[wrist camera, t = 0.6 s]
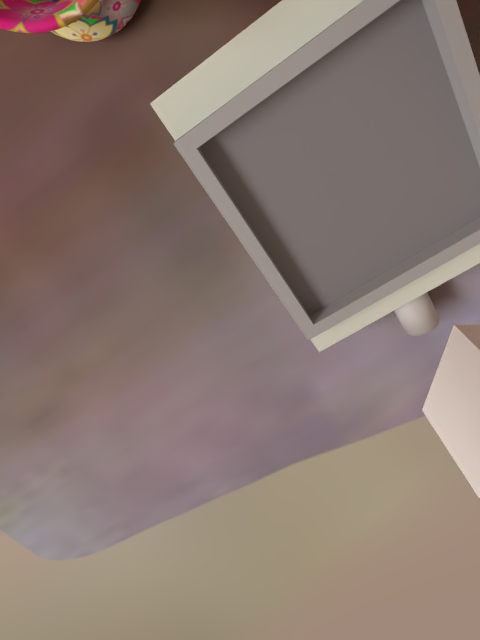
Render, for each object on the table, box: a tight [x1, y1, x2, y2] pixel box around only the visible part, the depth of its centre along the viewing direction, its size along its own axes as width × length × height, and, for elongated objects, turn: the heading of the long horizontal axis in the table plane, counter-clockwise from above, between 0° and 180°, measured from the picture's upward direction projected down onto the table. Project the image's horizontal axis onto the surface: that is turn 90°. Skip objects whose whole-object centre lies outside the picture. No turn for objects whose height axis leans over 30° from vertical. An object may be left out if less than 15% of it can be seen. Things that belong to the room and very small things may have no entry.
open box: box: [150, 0, 480, 352], centre depth 31 cm, size 26×17×6 cm, turn 33°
